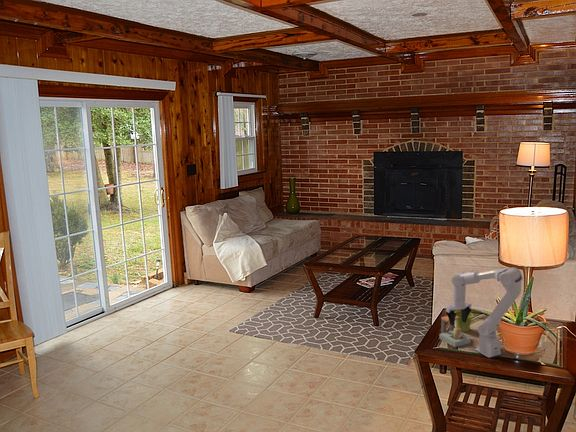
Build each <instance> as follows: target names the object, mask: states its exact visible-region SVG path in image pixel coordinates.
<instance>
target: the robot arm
mask: <svg viewBox="0 0 576 432" xmlns="http://www.w3.org/2000/svg"><path fill="white" fill-rule="evenodd" d="M489 279H495V280H496V281H497V282H500V283H501V285H502V287H503V288H504V289H505V291H506V293H505V294H504V295H503V297H502V298H501V299H500V300H499V302H498V303H497V305H496V306H495V307H494V309H493V310H492V311H491V313H490V315H489V314H488V316H487V318H485V319H484V320H483V322H481V323H479V324H477V328H476V329H477V333H478V334H479V337H478V347H475V348H474V351H475V352H478V353H479V354H482V355H484V356H485V357H487V358H493V357H497V356H500V355H502V352H501V347H502V346H501V345H502V344H501V343H502V342H501V340H500V338H498V337H497V335H496V331H497V330H498V329H499V325H500V323H501V320H502V319H503V317H504V315H506V313H507V312H508V311H509V309H510V308H511V307H512V305H513V304H514V303H515V302H516V300H517V299H518V298H519V296H520V295H521V292H522V281H523V279H524V278H523V275H522V273H521V270H520V269H518V268H517V267H504V268H496V269H493V270H488V271H487V270H486V271H482V272H479V271H478V270H474V269H471V270H470V271H468V272H467V271H466V272H465V271H462V272H459V273H457V274H455V275H453V276H452V277H451V284H452V285H453V287H452V288H453V289H452V303H451V305H449V306H448V307H445V313H446V316H448V318H449V321H450V322H449V324H451V325H453V326H454V327H455V323H456V320H455V317H456V313H455V312H456V311H461V313H462V321H463V322H466V320H467V317H468V315H469V313H472V309H471V308H472V303H470V302H466V293H467V292H466V291H467V289H466V288H467V285H471V284H472V285H473V284H479V283H480V282H481V281H482V280H489Z"/></svg>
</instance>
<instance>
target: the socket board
mask: <svg viewBox="0 0 576 432" xmlns="http://www.w3.org/2000/svg"><path fill="white" fill-rule="evenodd" d="M453 337H454V330H453V331H446V332H445V333H441V332H440V333H439V338H438V339H439V340H441V341H444V342H445V343H447V344H448V345H449V346H452V347H453V348H457V347H461V346H464V345H468V344H471V341H472V340H471V337H469V336H467V335H465V334H464V333H461V339H458V340H455V339H453Z"/></svg>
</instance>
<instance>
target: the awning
mask: <svg viewBox="0 0 576 432" xmlns="http://www.w3.org/2000/svg"><path fill="white" fill-rule="evenodd" d="M440 318H441V324H440V325H441V326H440V327H441V328H440V334H441V333H445V332H447V323H449V326H448V327H449V331H453V330H454V328H455V325H454V326H453V325H451V324H450V321H449V318H448V315H445V316H441V317H440ZM456 320H458V317H455V321H456ZM449 331H448V332H449Z"/></svg>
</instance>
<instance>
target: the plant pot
mask: <svg viewBox="0 0 576 432" xmlns="http://www.w3.org/2000/svg"><path fill="white" fill-rule="evenodd" d="M454 313H456V317H458V320H455V323H456V327H458V328H461V333H467V332H469V331H470V328H471V323H472V319H473V318H474V314H473V313H472V312H470V313H469V315H468V317H467V320H466V322H463V321H462V313H461V310H456V311H454Z"/></svg>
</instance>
